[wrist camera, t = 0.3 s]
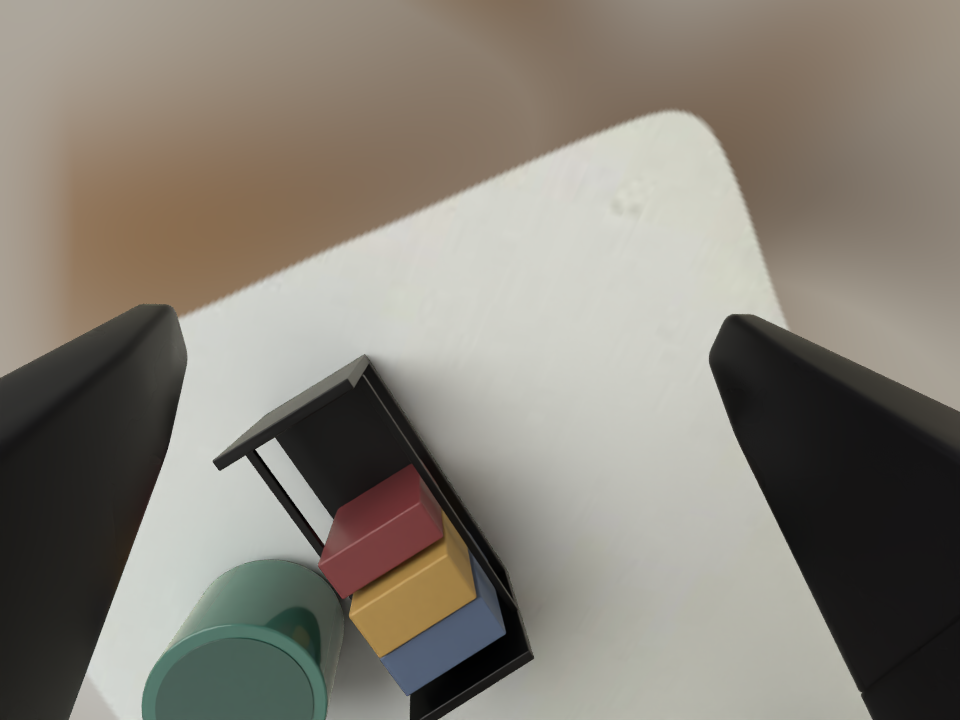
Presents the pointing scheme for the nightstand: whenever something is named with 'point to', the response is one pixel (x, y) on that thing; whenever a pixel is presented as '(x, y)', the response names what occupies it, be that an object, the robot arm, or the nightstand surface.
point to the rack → (359, 467)
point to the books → (410, 580)
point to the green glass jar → (252, 649)
